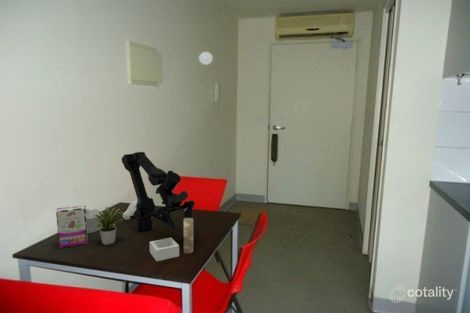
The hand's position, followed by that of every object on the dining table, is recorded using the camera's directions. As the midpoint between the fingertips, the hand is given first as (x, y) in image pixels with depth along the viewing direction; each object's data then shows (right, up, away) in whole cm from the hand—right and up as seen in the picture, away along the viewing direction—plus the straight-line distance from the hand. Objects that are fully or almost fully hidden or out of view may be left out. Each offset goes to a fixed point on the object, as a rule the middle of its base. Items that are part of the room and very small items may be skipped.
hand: (183, 226), depth 134 cm
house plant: (-35, -9, +6) cm, 36 cm away
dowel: (+2, -10, 0) cm, 11 cm away
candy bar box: (-49, -9, +4) cm, 50 cm away
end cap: (-8, -11, -3) cm, 13 cm away
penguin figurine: (-35, -4, +39) cm, 52 cm away
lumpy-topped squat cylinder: (-51, -6, +24) cm, 56 cm away
